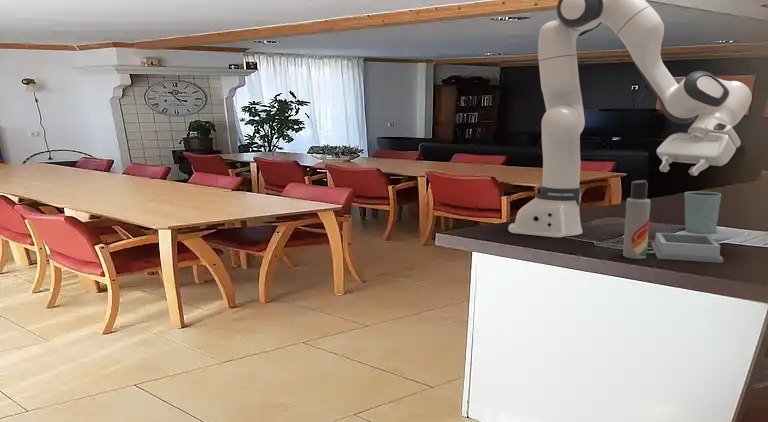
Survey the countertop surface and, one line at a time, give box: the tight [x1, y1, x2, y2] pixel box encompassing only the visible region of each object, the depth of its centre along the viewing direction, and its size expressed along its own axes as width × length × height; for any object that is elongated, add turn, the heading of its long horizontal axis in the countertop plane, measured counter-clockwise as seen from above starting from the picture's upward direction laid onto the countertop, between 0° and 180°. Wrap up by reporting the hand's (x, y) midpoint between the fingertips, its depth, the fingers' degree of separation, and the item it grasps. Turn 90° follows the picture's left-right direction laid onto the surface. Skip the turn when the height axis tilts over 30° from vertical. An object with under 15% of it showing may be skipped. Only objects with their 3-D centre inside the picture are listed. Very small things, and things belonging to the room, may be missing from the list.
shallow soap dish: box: [651, 232, 724, 264], centre depth 160 cm, size 15×15×4 cm
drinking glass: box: [684, 190, 722, 235], centre depth 188 cm, size 10×10×12 cm
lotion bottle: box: [622, 179, 651, 260], centre depth 156 cm, size 6×6×20 cm
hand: (676, 172), depth 158 cm, fingers open, 8 cm apart
